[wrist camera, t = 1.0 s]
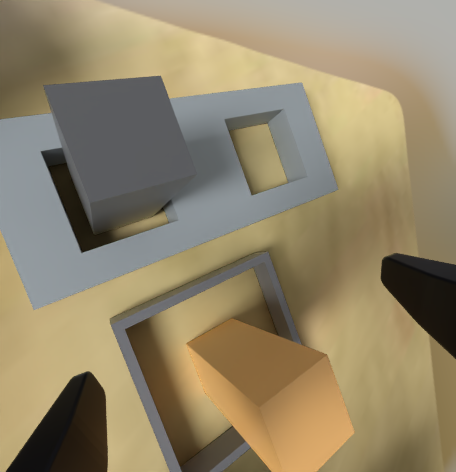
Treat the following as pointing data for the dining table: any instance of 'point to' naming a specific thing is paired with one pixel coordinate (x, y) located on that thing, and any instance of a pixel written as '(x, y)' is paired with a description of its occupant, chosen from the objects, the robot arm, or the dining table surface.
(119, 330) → the purplish gray square frame
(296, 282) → the dining table surface
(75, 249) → the gray rectangular frame
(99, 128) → the dark gray block
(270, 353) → the tan wooden block
